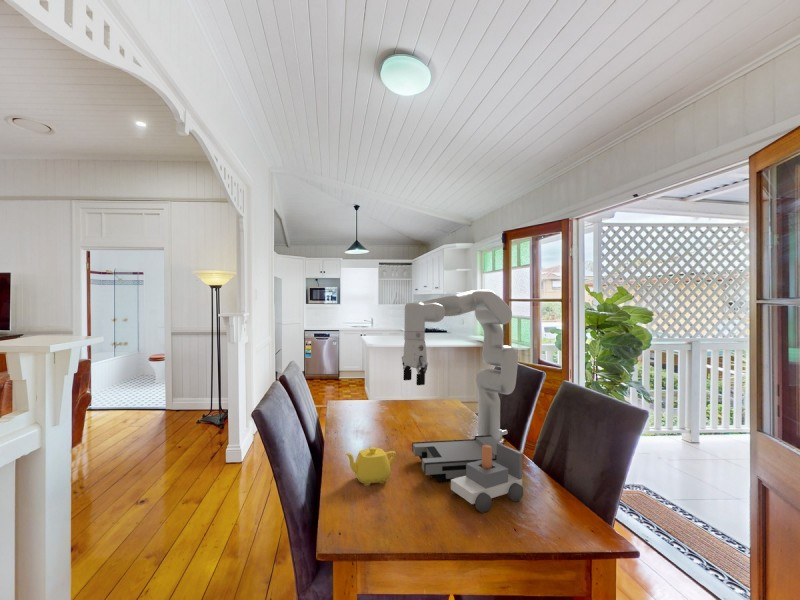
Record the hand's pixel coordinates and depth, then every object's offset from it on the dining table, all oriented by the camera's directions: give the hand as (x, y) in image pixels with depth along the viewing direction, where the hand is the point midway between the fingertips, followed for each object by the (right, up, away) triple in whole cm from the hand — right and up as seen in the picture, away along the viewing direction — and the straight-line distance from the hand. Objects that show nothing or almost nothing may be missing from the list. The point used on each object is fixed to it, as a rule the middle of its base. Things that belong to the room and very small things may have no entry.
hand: (413, 382), depth 140 cm
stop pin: (+22, -25, -23) cm, 40 cm away
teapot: (-15, -30, -13) cm, 36 cm away
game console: (+17, -31, -3) cm, 36 cm away
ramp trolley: (+22, -31, -23) cm, 44 cm away
